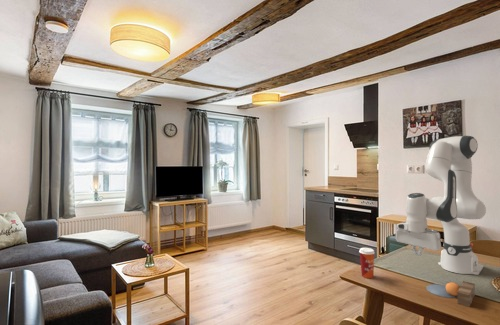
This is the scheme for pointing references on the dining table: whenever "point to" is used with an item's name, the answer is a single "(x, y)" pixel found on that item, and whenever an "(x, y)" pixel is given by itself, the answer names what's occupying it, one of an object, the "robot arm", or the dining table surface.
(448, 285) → the ball
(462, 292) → the block
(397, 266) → the dining table surface
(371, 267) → the paper cup
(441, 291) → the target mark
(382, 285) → the dining table surface
